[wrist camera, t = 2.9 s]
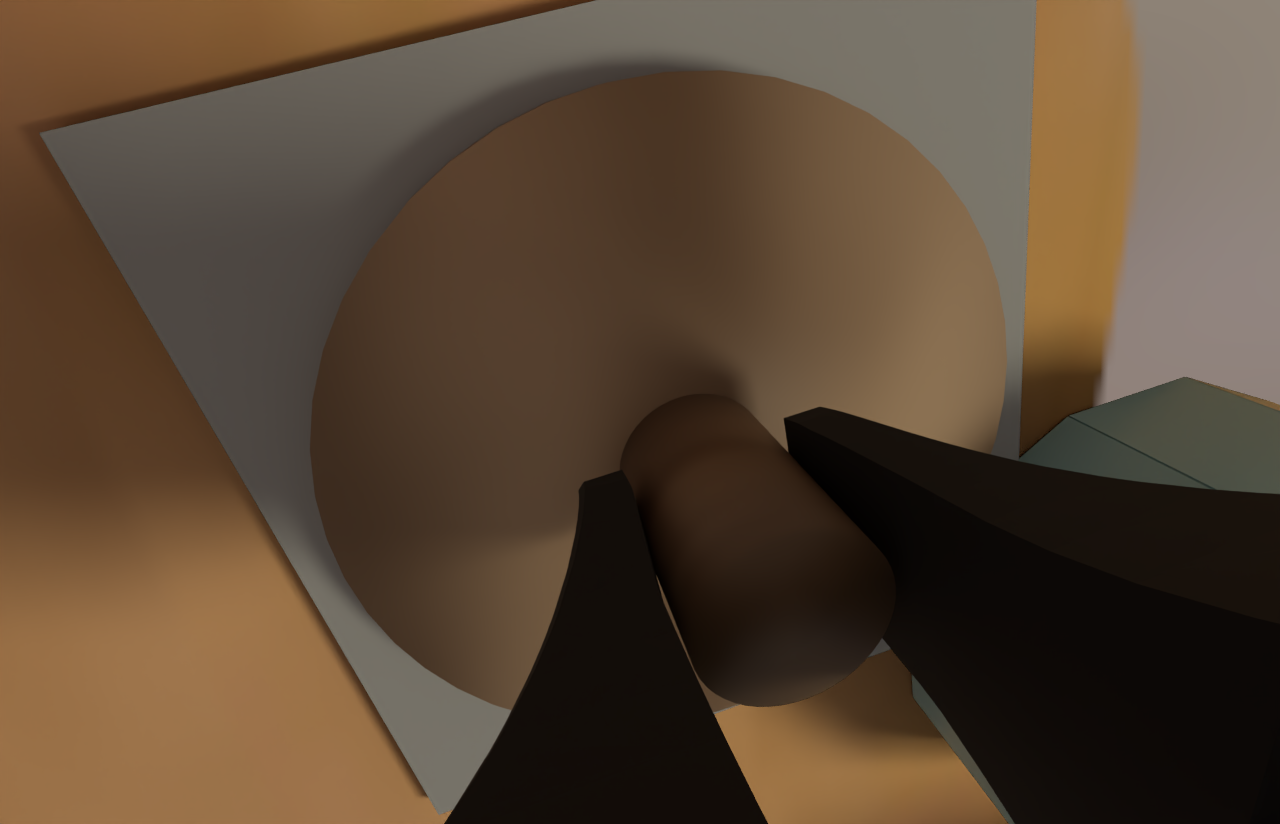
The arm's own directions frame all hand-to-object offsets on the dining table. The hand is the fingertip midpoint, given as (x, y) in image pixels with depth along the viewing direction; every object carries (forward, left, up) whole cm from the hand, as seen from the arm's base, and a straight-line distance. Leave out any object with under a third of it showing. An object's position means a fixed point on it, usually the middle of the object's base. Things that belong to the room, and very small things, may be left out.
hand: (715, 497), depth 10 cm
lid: (0, 0, -2) cm, 2 cm away
